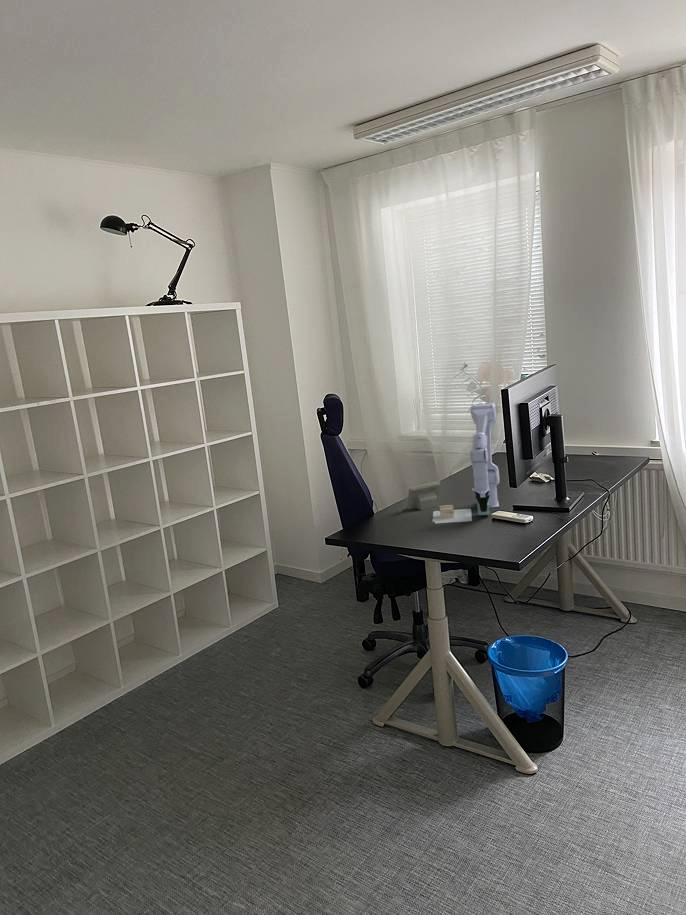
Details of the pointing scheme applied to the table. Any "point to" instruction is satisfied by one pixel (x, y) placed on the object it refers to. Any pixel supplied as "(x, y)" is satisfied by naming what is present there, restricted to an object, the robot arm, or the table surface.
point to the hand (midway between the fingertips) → (483, 509)
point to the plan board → (459, 516)
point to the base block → (446, 511)
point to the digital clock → (424, 496)
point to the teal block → (483, 512)
